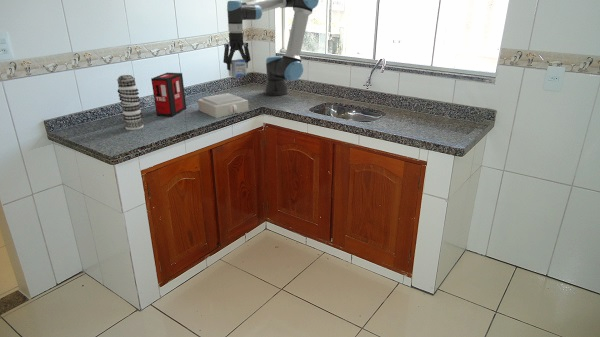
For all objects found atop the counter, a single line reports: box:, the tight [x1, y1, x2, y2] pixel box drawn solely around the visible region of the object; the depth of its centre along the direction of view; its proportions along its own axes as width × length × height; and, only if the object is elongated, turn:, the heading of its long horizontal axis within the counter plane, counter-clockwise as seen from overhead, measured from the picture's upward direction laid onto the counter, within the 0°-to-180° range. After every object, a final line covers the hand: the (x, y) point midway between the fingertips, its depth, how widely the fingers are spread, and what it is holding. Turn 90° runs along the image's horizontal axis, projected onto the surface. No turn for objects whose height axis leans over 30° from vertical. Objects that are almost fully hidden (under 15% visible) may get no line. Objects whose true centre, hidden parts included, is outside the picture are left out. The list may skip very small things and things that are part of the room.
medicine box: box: [231, 58, 246, 78], centre depth 220 cm, size 8×4×9 cm, turn 143°
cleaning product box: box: [151, 72, 187, 118], centre depth 217 cm, size 16×9×20 cm, turn 168°
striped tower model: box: [116, 74, 144, 131], centre depth 192 cm, size 9×9×25 cm
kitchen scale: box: [197, 92, 250, 119], centre depth 221 cm, size 20×21×7 cm
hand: (237, 75), depth 222 cm, fingers closed on medicine box, 8 cm apart
